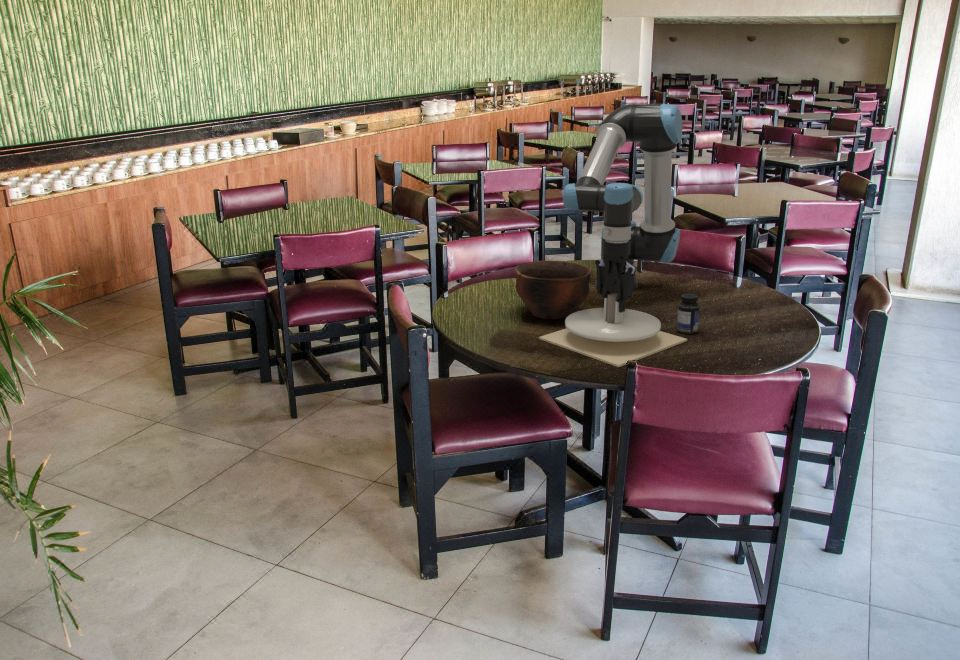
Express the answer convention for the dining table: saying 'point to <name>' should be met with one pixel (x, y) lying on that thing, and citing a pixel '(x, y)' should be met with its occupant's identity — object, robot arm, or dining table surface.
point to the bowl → (552, 287)
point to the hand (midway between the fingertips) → (613, 320)
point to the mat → (613, 346)
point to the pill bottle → (688, 314)
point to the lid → (612, 324)
